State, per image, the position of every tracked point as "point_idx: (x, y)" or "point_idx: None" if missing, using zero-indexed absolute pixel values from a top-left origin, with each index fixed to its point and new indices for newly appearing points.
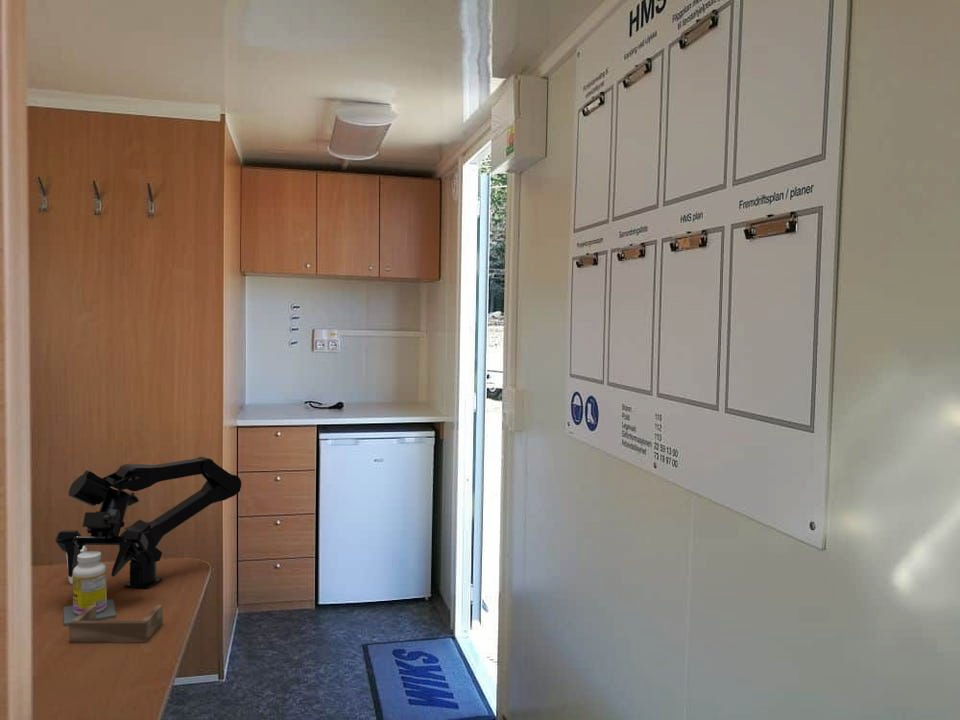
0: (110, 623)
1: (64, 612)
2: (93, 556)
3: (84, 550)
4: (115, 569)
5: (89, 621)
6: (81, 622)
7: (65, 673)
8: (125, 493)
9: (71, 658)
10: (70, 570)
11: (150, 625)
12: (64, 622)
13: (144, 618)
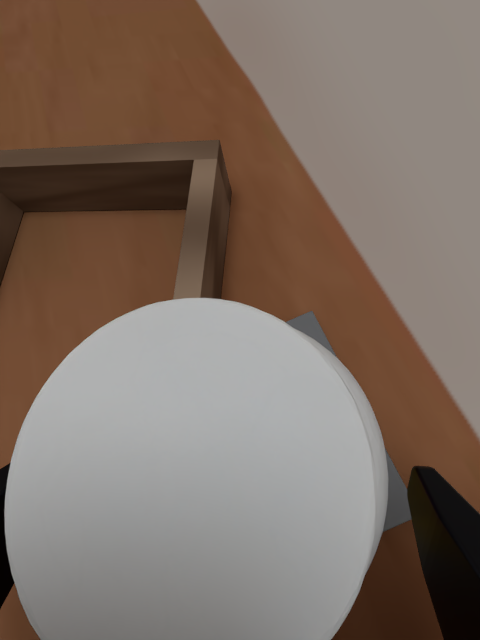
0: (73, 147)
1: None
2: (85, 346)
3: None
4: (3, 467)
5: (149, 156)
6: (175, 147)
7: (173, 53)
8: None
9: (186, 111)
10: (436, 492)
11: None
12: (315, 321)
13: None
